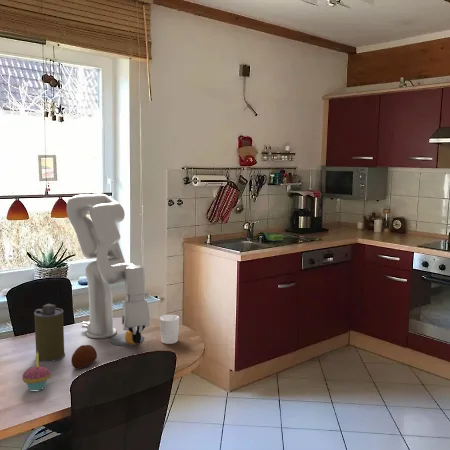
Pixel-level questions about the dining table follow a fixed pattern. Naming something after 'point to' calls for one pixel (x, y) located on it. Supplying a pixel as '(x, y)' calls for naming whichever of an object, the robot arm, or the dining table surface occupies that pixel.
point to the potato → (83, 356)
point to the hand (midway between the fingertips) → (136, 342)
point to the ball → (129, 338)
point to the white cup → (169, 328)
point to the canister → (49, 333)
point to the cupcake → (36, 376)
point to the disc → (122, 340)
